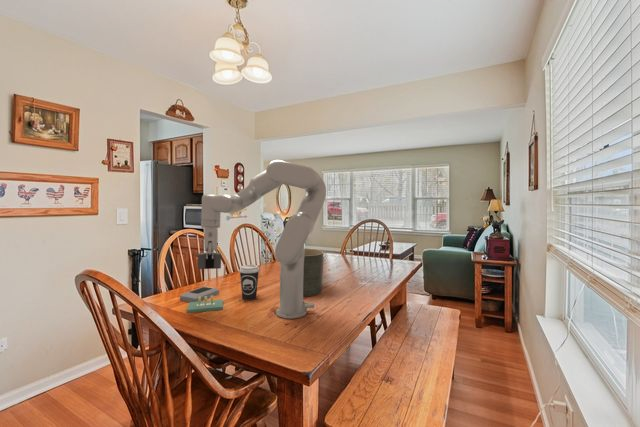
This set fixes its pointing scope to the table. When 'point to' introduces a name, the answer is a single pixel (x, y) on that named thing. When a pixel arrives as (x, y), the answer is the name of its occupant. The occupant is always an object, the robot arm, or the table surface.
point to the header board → (205, 305)
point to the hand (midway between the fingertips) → (209, 266)
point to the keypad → (199, 294)
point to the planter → (313, 272)
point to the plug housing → (203, 260)
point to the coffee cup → (249, 281)
